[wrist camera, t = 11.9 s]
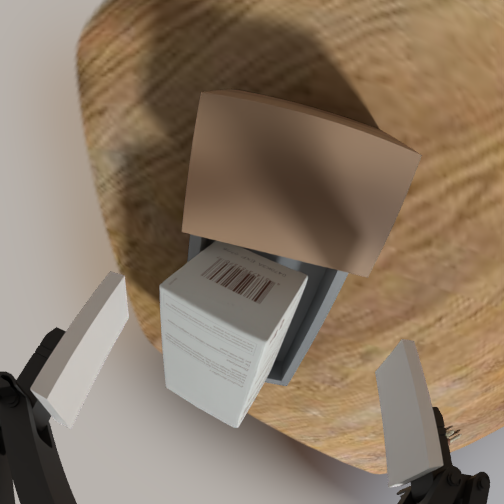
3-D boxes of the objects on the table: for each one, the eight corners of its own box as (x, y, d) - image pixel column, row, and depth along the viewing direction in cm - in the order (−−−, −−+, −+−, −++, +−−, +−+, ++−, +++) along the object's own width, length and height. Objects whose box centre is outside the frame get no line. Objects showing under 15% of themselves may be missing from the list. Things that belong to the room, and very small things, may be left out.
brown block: (231, 88, 17) (201, 91, 11) (379, 129, 17) (421, 155, 11) (213, 185, 21) (181, 232, 15) (348, 219, 21) (367, 277, 15)
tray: (206, 190, 21) (193, 207, 18) (351, 226, 21) (359, 248, 18) (188, 339, 30) (180, 361, 28) (288, 362, 30) (286, 386, 28)
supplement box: (220, 233, 22) (206, 339, 29) (155, 284, 16) (163, 389, 23) (312, 273, 20) (270, 372, 27) (271, 345, 14) (235, 431, 21)
